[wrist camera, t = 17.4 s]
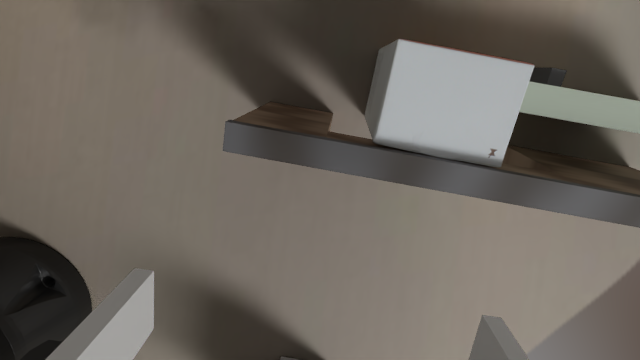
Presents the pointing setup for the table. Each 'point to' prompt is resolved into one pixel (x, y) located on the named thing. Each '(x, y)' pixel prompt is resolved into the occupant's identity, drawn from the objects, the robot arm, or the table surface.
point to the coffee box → (286, 359)
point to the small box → (445, 101)
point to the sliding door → (577, 103)
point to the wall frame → (441, 166)
